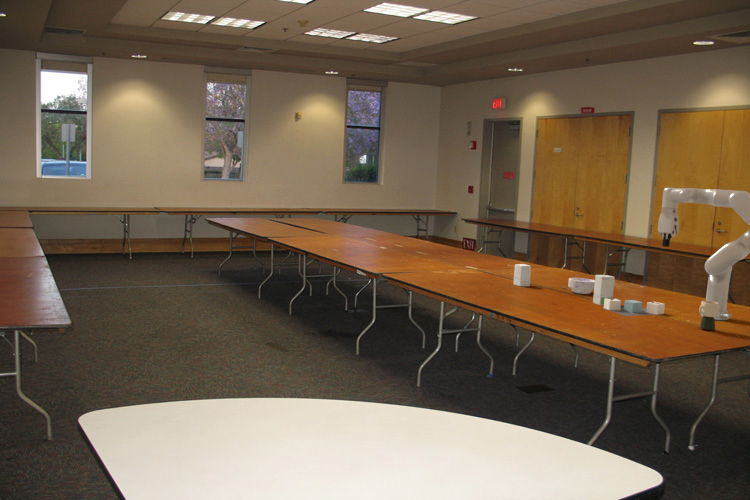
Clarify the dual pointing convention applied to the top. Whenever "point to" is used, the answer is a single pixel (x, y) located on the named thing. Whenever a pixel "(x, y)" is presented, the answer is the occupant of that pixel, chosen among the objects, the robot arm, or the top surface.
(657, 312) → the digit block one
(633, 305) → the plain block
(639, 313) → the mat
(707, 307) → the character mug
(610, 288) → the skincare box
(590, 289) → the paper bowls
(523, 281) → the supplement box
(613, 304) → the digit block seven
